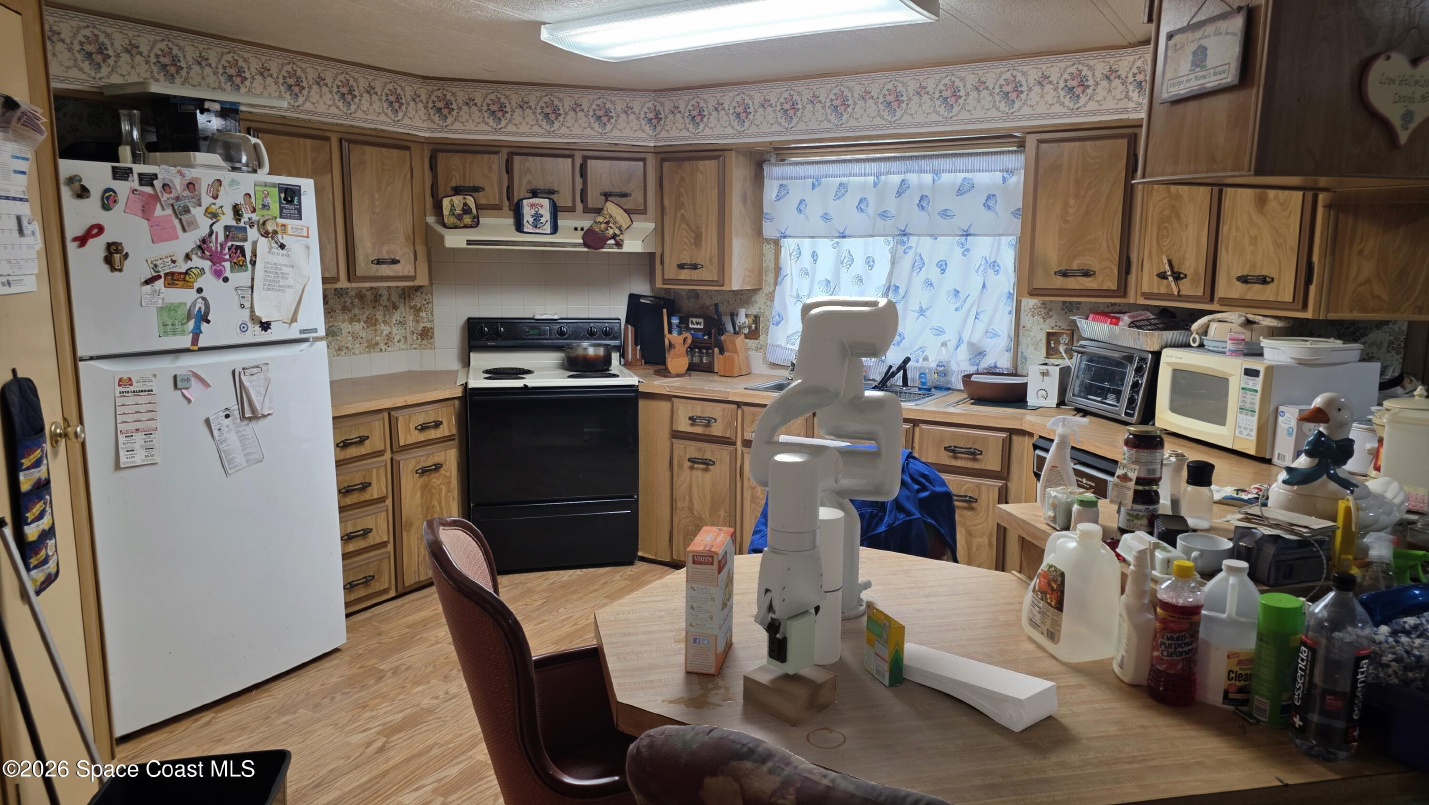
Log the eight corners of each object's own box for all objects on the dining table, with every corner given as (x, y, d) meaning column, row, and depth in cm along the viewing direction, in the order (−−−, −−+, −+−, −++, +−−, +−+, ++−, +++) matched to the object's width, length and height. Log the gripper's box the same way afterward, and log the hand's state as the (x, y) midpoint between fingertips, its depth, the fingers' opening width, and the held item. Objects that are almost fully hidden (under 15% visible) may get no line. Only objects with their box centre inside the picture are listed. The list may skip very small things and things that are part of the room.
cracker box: (719, 677, 144) (720, 552, 141) (683, 673, 145) (683, 549, 142) (735, 641, 158) (736, 526, 154) (701, 638, 159) (702, 524, 156)
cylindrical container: (812, 668, 147) (816, 521, 143) (789, 651, 154) (792, 510, 150) (848, 659, 151) (853, 515, 147) (824, 643, 157) (828, 505, 153)
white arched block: (879, 698, 149) (1026, 750, 127) (869, 660, 148) (1016, 705, 126) (917, 668, 155) (1064, 713, 133) (907, 630, 154) (1054, 669, 131)
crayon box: (903, 684, 142) (906, 615, 140) (887, 687, 141) (890, 617, 139) (879, 665, 149) (882, 598, 147) (863, 668, 148) (866, 601, 146)
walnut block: (785, 683, 143) (785, 653, 142) (836, 705, 136) (836, 674, 135) (742, 705, 136) (743, 674, 135) (794, 729, 129) (795, 697, 128)
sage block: (789, 653, 138) (790, 604, 137) (813, 664, 134) (815, 614, 133) (766, 663, 135) (767, 612, 133) (791, 674, 131) (792, 622, 130)
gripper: (812, 521, 140) (809, 631, 143) (733, 543, 129) (732, 663, 131) (849, 532, 135) (846, 646, 137) (771, 556, 123) (769, 680, 126)
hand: (790, 653), depth 134 cm, fingers closed on sage block, 4 cm apart
